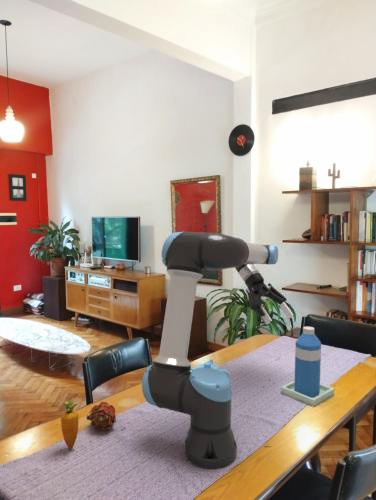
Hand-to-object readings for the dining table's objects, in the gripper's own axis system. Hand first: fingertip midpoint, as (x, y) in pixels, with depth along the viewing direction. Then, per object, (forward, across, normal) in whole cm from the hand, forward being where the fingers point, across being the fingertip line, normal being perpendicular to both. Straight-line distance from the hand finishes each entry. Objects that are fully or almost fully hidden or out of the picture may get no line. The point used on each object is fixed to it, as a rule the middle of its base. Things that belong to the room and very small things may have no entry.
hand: (280, 319), depth 154 cm
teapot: (+8, +24, -30) cm, 40 cm away
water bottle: (+26, -2, -11) cm, 29 cm away
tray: (+27, -3, -11) cm, 29 cm away
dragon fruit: (+6, +68, -34) cm, 76 cm away
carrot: (+10, +80, -30) cm, 87 cm away
